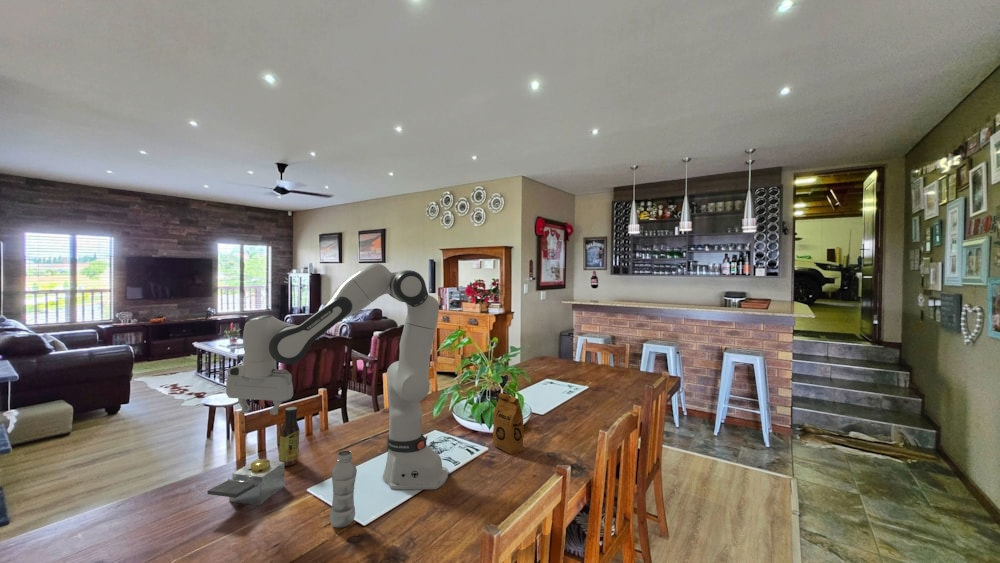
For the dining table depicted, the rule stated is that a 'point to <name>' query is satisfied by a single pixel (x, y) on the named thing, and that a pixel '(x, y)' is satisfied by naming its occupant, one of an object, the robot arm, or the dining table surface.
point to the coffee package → (508, 425)
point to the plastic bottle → (343, 491)
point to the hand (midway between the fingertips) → (260, 413)
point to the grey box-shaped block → (260, 482)
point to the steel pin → (260, 465)
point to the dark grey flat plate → (232, 488)
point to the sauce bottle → (289, 438)
